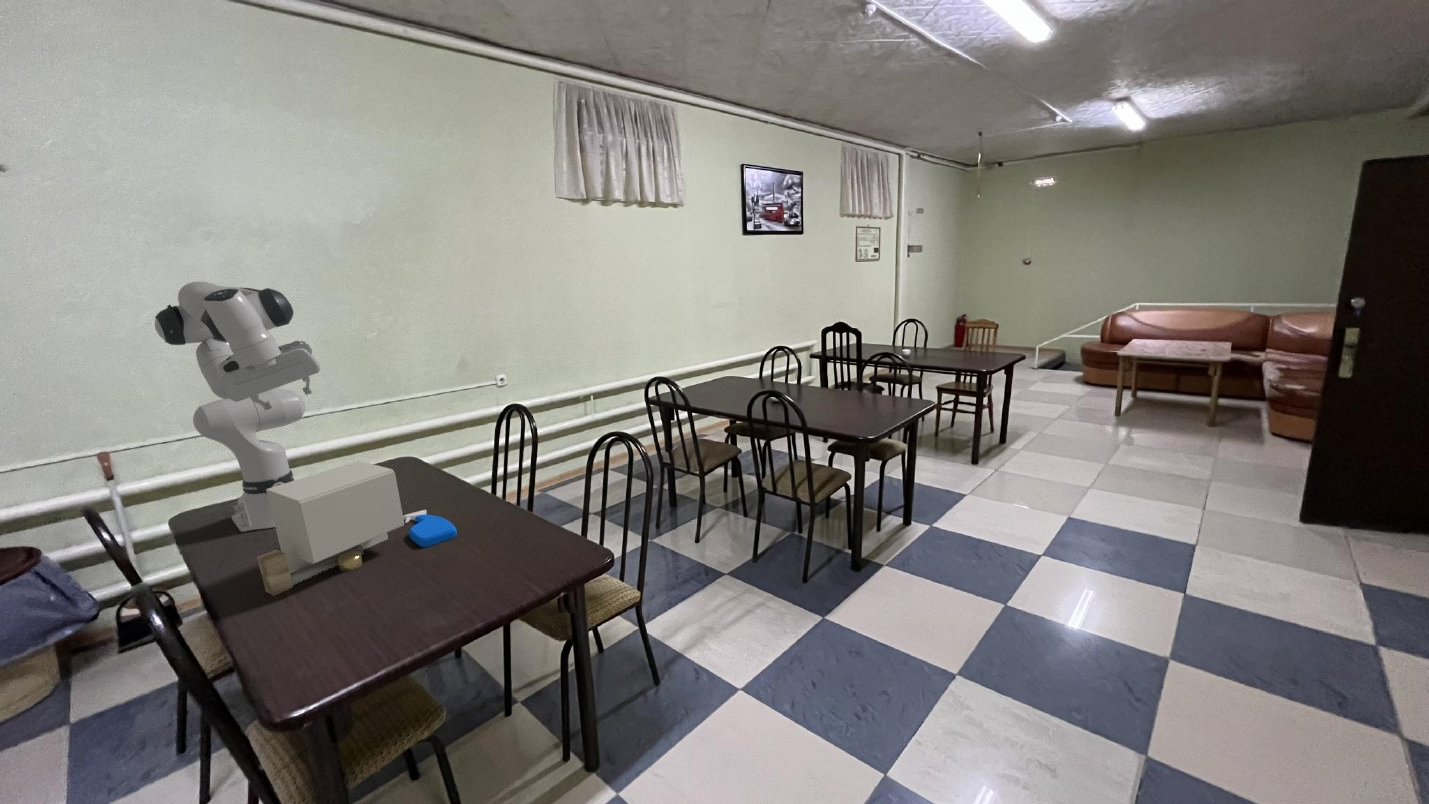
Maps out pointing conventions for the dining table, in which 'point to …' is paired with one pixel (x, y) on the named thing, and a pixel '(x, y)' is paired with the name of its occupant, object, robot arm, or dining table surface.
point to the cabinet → (335, 512)
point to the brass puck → (350, 560)
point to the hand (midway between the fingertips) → (289, 401)
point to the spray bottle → (429, 529)
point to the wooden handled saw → (282, 579)
